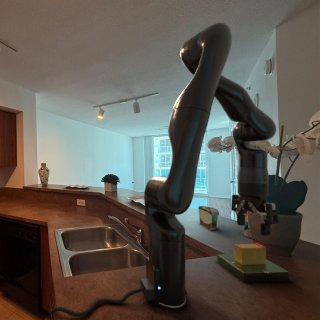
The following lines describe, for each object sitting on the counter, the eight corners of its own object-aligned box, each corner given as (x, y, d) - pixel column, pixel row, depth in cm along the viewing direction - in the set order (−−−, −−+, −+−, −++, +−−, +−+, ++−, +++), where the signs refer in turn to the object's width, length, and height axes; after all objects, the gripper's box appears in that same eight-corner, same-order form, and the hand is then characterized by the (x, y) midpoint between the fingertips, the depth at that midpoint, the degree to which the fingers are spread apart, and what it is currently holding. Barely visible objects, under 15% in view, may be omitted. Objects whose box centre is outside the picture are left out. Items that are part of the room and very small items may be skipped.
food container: (225, 232, 96) (225, 212, 96) (212, 232, 97) (212, 212, 96) (209, 223, 109) (209, 205, 108) (198, 223, 109) (198, 205, 109)
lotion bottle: (243, 233, 95) (243, 192, 94) (259, 235, 91) (259, 193, 91) (243, 236, 91) (244, 194, 90) (260, 240, 87) (260, 195, 86)
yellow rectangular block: (242, 264, 63) (242, 247, 63) (234, 260, 66) (234, 243, 65) (265, 264, 63) (266, 246, 63) (257, 259, 66) (258, 242, 66)
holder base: (245, 284, 58) (245, 273, 58) (216, 261, 70) (216, 253, 70) (290, 282, 58) (291, 272, 58) (253, 260, 71) (253, 252, 70)
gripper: (224, 178, 70) (224, 222, 71) (262, 184, 56) (261, 239, 56) (244, 178, 70) (244, 222, 71) (287, 184, 56) (287, 239, 57)
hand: (252, 229), depth 64 cm, fingers open, 8 cm apart
